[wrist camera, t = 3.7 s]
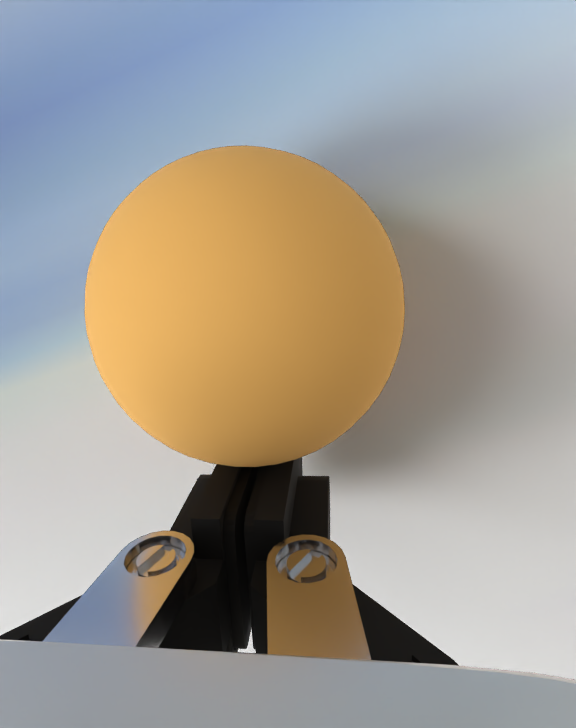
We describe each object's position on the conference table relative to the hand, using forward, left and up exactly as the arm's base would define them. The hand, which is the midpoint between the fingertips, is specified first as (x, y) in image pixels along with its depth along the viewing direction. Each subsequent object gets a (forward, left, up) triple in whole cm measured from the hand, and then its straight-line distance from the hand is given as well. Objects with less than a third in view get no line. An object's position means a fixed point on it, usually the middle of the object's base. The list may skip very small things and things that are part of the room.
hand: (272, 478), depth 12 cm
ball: (0, +5, +1) cm, 5 cm away
